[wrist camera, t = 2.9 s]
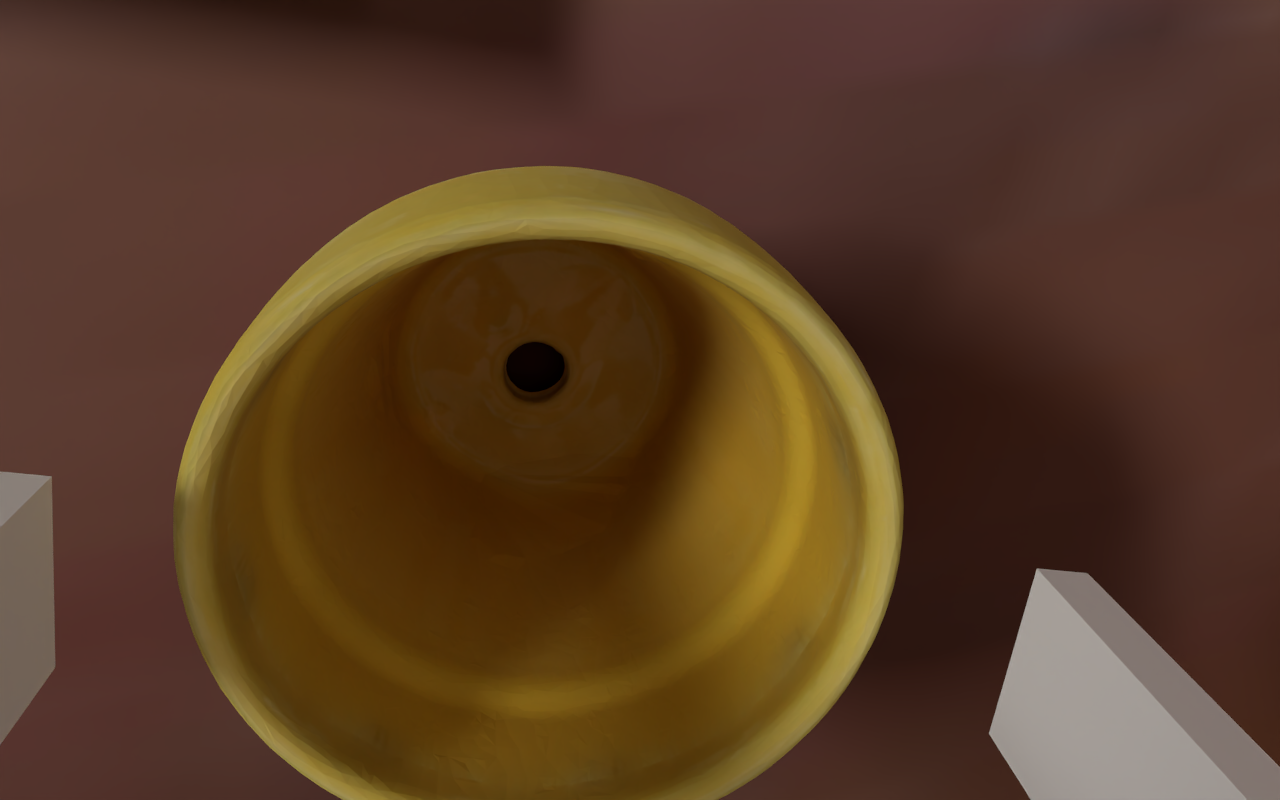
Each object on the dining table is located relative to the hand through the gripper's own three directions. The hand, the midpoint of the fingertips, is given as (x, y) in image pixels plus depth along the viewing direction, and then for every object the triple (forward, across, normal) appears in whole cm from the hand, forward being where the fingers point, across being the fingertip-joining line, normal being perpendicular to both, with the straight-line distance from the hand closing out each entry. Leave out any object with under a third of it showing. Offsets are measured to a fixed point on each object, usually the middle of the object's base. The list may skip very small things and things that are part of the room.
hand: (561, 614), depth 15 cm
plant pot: (+11, 0, 0) cm, 11 cm away
